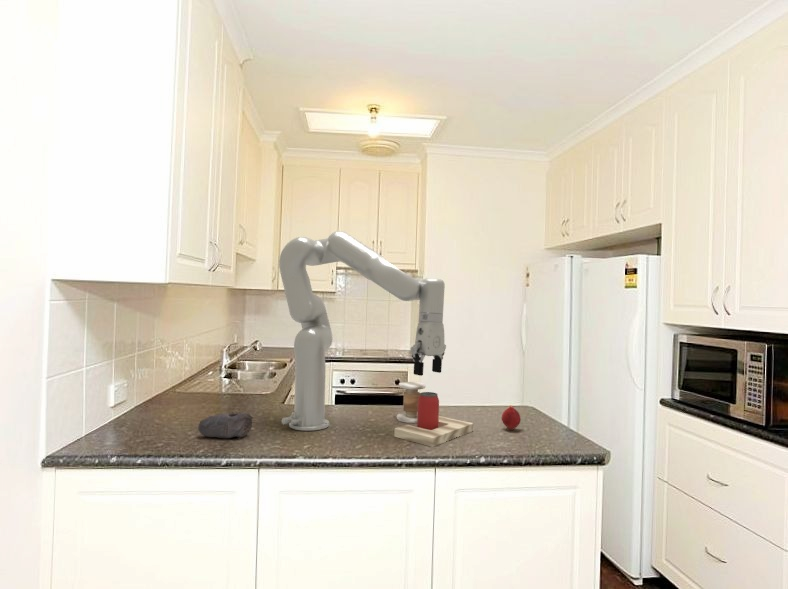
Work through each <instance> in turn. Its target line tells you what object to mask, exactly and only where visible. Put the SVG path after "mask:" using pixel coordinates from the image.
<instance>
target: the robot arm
mask: <svg viewBox="0 0 788 589" xmlns="http://www.w3.org/2000/svg"><path fill="white" fill-rule="evenodd" d="M337 262H341V263H343V264H345V265H346V266H348V267H349V268H351V269H352V270H353V271H355V272H357V273H358V274H359V275H361V276H363V277H364V278H366V279H368V280H369V281H371V282H372V283H374V284H376V285H377V286H378V287H381V289H383V290H385V291H386V292H388V293H390V294H391V295H393V296H394V297H396V298H397V299H399V300H401V301H404V302H411V301H412V302H413V301H419V304H418V305H419V306H418V323H417V325H416V326H417V327H416V331H415V339H414V340H415V341H414V342H415V343H414V344H413V345H412V346H411V347H410V352H411V358H412V361H413V375H415V376H421V377H422V376H423V375H424V367H425V366H424V364H425V362H423V361H424V359H425V357H426V356H427V357H433V358H432V362H431V363H432V364H431V365H432V366H431V371H432V372H433V373H439V374H441V373H442V369H443V368H442V366H443V365H442V364H443V359H444V355H445V353H446V352H445V351H446V349H447V345H446V344H445V327H444V323H443V321H444V302H445V287H446V286H445V282H444V280H442V279H439V278H423V279H421V278H420V279H419V278H415V277H412V276H410V275H409V274H407V273H406V272H404V271H402V270H401V269H399V268H398V267H397V266H395V265H394V264H391V263H390V262H389V261H387V260H386V259H385V258H384V257H383V256H382V255H381V254H380V253H378V252H377V251H375V250H374V249H372V248H370V247H369V246H367V245H366V244H364V243H362V241H359V240H358V239H356V238H355V237H353V236H351V235H350V234H349V233H347V232H345V231H341V230H337V231H334V232H332V233H330V235H329V236H328V237H327V238H322V239H318V240H317V239H315V240H314V239H311V238H310V237H306V236H298V237H295V238H293V239H291V240H290V241H289V242H287V243H286V245H285V246H284V247H283V248H282V250H281V252H280V255H279V260H278V266H279V273H280V277H281V281H282V286H283V290H284V294H285V298H286V303H287V306H288V311H289V315H290V316H291V319H292V320H293V321H295V322H296V323H298V324H300V326H301V328H302V329H301V330H300V331H298V333H297V334H296V336H295V338H294V341H293V342H294V343H293V352H294V361H295V362H294V363H295V364H294V365H295V366H294V373H295V374H294V375H295V376H294V378H295V379H294V411H292V412H291V415H289V416H288V417H287V416H286V417H282V419H281V424H282V425H288V426H289V428H290V429H293V430H294V431H295V430H296V431H304V432H305V431H306V432H307V431H308V432H309V431H311V432H312V431H320V430H324V429H326V428H328V427H329V426H330V420H328V419H326V418H325V413H326V412H325V410H326V409H325V408H326V407H325V406H326V405H325V404H326V371H327V370H326V367H327V365H326V355H325V352H326V351H328V350H329V349H330V348H331V346H332V344H333V332H332V328H331V325H330V321H329V316H328V313H327V309H326V305H325V303H324V301H323V300H322V298H320V297H319V296H318V295H316V294H314V292H313V288H312V285H311V279H310V277H309V274H308V271H307V266H311V267H313V266H321V265H327V264H331V263H337Z"/></svg>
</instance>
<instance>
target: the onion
mask: <svg viewBox="0 0 788 589" xmlns="http://www.w3.org/2000/svg"><path fill="white" fill-rule="evenodd" d="M501 421H502V423H503V425H504V426H505V427H506V428H507V429H508V430H509V431H512V430H514V429H516V428H517V427H518V426H519V425H520V423H521V414H520V412H518V410H517V409H516V408H515V407H513V405H511V404H509V406H508V407H507V408H506V409H505V410H504V411H503V413H502V415H501Z"/></svg>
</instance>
